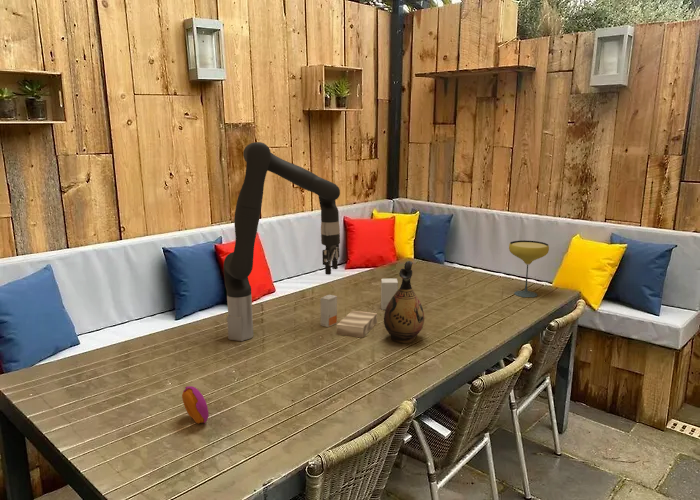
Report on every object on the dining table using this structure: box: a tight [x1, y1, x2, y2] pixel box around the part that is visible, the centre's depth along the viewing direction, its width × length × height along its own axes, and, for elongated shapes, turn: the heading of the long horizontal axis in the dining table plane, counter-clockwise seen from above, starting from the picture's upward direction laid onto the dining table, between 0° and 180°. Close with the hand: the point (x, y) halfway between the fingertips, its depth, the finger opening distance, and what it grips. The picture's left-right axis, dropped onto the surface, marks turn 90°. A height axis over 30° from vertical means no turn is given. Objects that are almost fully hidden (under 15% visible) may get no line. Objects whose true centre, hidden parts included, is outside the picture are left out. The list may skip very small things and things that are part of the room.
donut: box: [181, 385, 210, 424], centre depth 149 cm, size 8×9×10 cm
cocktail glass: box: [508, 240, 550, 298], centre depth 261 cm, size 18×18×25 cm
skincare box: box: [319, 294, 338, 328], centre depth 223 cm, size 6×4×12 cm
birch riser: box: [336, 310, 378, 338], centre depth 219 cm, size 18×11×4 cm, turn 159°
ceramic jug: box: [383, 260, 425, 344], centre depth 206 cm, size 17×15×30 cm
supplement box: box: [380, 278, 399, 311], centre depth 244 cm, size 7×7×13 cm
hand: (331, 271), depth 220 cm, fingers open, 8 cm apart
